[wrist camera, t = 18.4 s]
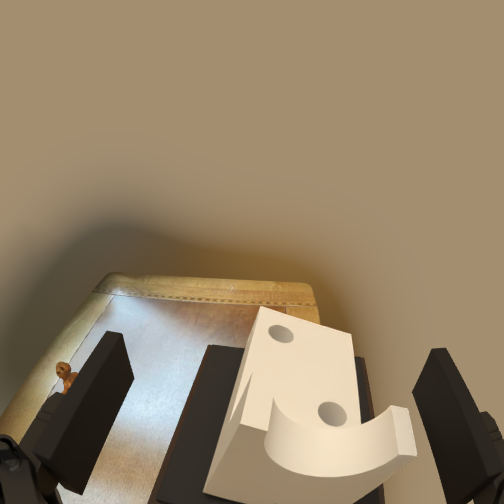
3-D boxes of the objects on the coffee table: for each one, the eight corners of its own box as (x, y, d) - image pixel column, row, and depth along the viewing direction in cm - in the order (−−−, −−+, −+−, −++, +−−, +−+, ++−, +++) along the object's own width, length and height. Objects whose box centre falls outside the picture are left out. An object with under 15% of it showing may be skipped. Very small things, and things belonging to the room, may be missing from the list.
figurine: (65, 420, 41) (38, 369, 36) (81, 398, 46) (58, 347, 41) (86, 429, 40) (60, 379, 35) (102, 406, 45) (80, 354, 40)
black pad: (359, 361, 24) (360, 356, 24) (378, 521, 11) (381, 518, 11) (212, 348, 25) (212, 344, 25) (156, 501, 13) (154, 498, 13)
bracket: (330, 516, 12) (417, 455, 9) (202, 492, 13) (239, 423, 9) (331, 366, 24) (375, 290, 21) (247, 341, 24) (278, 257, 21)
